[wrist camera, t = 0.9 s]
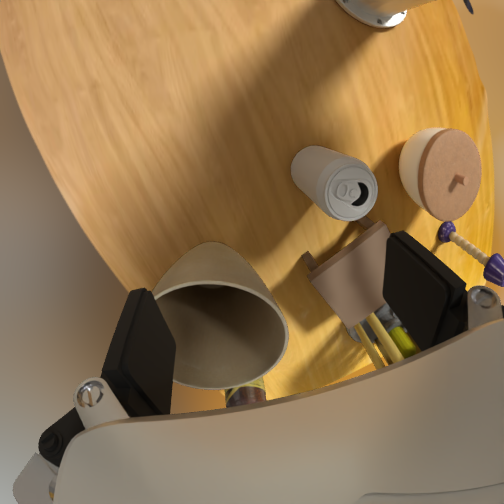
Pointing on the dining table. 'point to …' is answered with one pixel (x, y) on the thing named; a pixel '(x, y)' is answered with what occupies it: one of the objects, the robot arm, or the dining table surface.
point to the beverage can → (335, 182)
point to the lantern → (384, 337)
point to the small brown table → (353, 274)
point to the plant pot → (220, 319)
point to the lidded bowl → (441, 171)
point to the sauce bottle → (246, 394)
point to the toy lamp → (475, 254)
